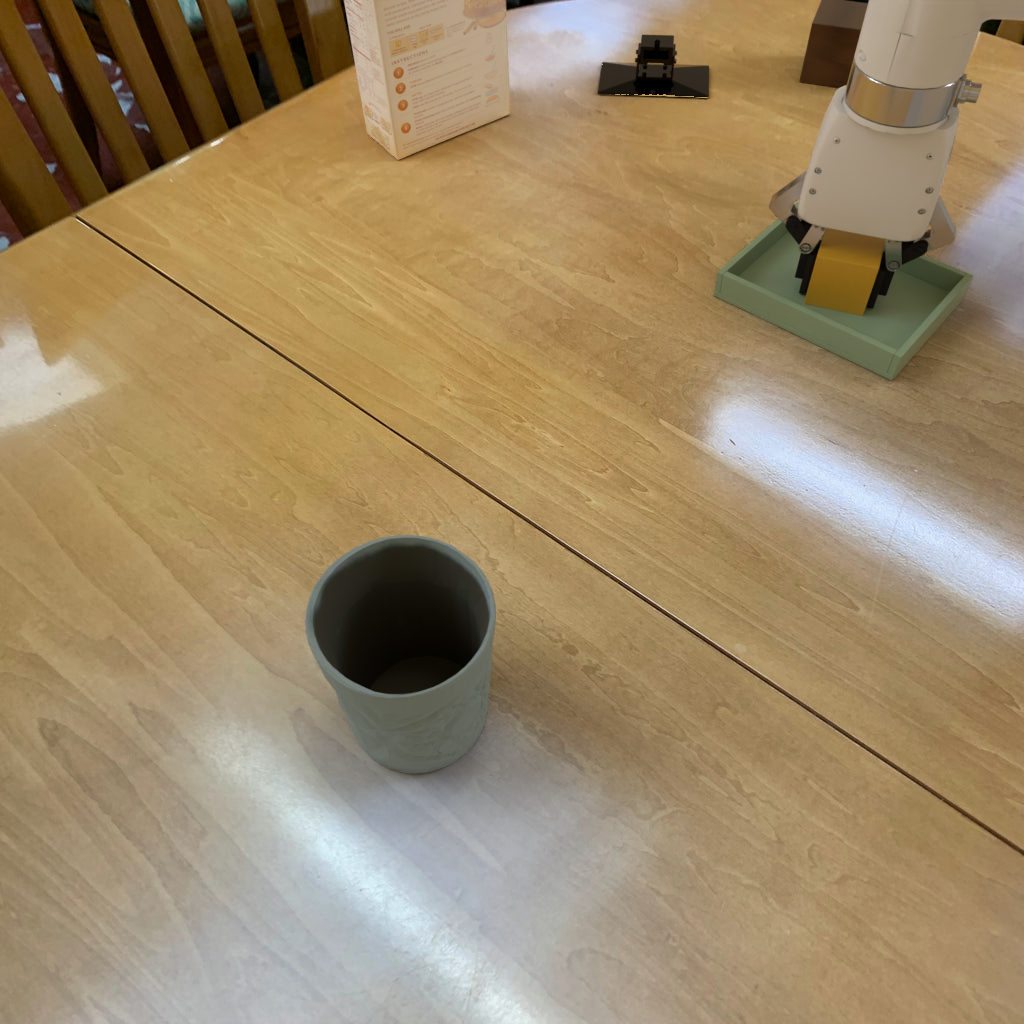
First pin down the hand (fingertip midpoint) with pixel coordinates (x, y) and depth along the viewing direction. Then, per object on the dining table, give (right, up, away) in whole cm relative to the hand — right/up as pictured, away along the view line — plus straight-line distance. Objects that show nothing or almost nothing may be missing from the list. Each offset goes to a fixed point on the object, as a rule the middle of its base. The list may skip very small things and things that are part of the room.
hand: (838, 289), depth 81 cm
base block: (+8, +31, +25) cm, 40 cm away
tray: (0, -1, +1) cm, 1 cm away
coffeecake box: (-37, +23, +21) cm, 48 cm away
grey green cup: (-34, -32, -22) cm, 52 cm away
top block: (0, 0, 0) cm, 0 cm away
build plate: (-12, +30, +25) cm, 41 cm away
